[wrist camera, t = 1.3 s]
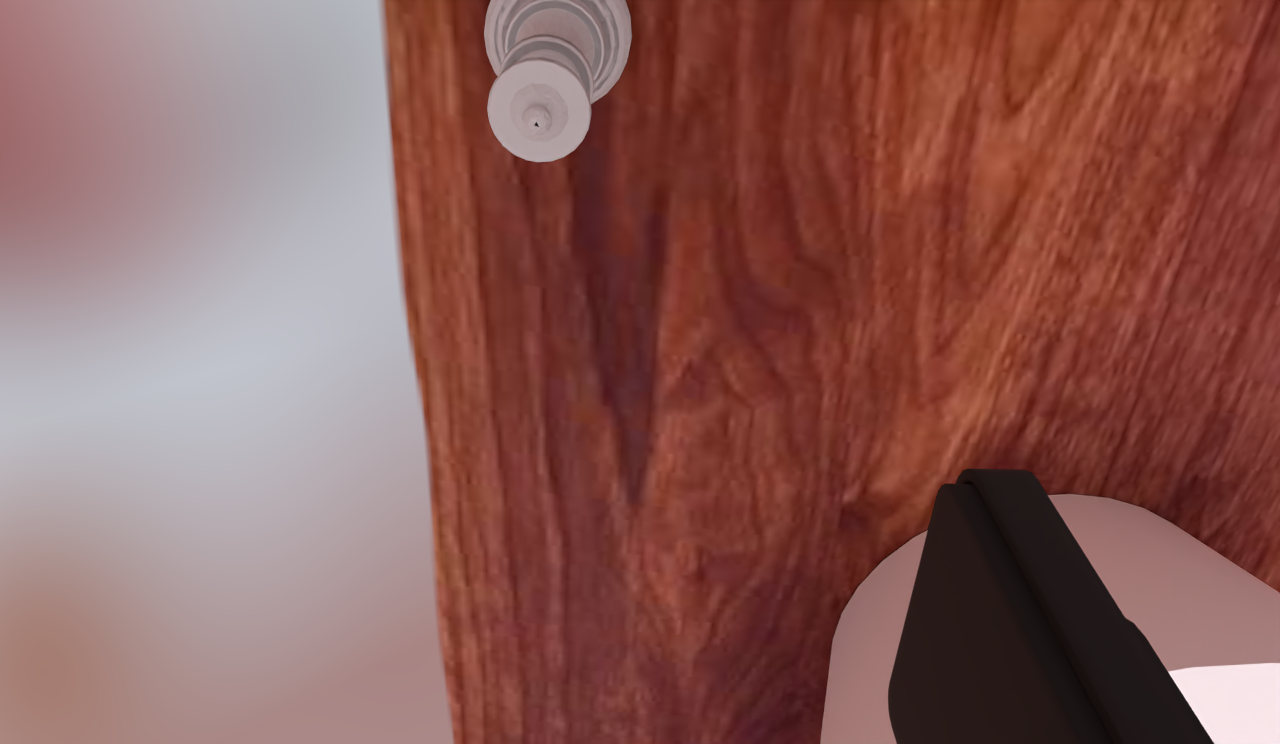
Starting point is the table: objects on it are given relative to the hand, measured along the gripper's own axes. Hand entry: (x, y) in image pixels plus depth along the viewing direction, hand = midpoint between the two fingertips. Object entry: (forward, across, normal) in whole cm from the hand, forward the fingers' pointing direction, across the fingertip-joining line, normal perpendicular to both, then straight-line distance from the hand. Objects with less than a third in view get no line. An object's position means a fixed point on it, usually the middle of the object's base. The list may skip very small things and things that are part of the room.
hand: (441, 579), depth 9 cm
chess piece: (+24, 0, 0) cm, 24 cm away
